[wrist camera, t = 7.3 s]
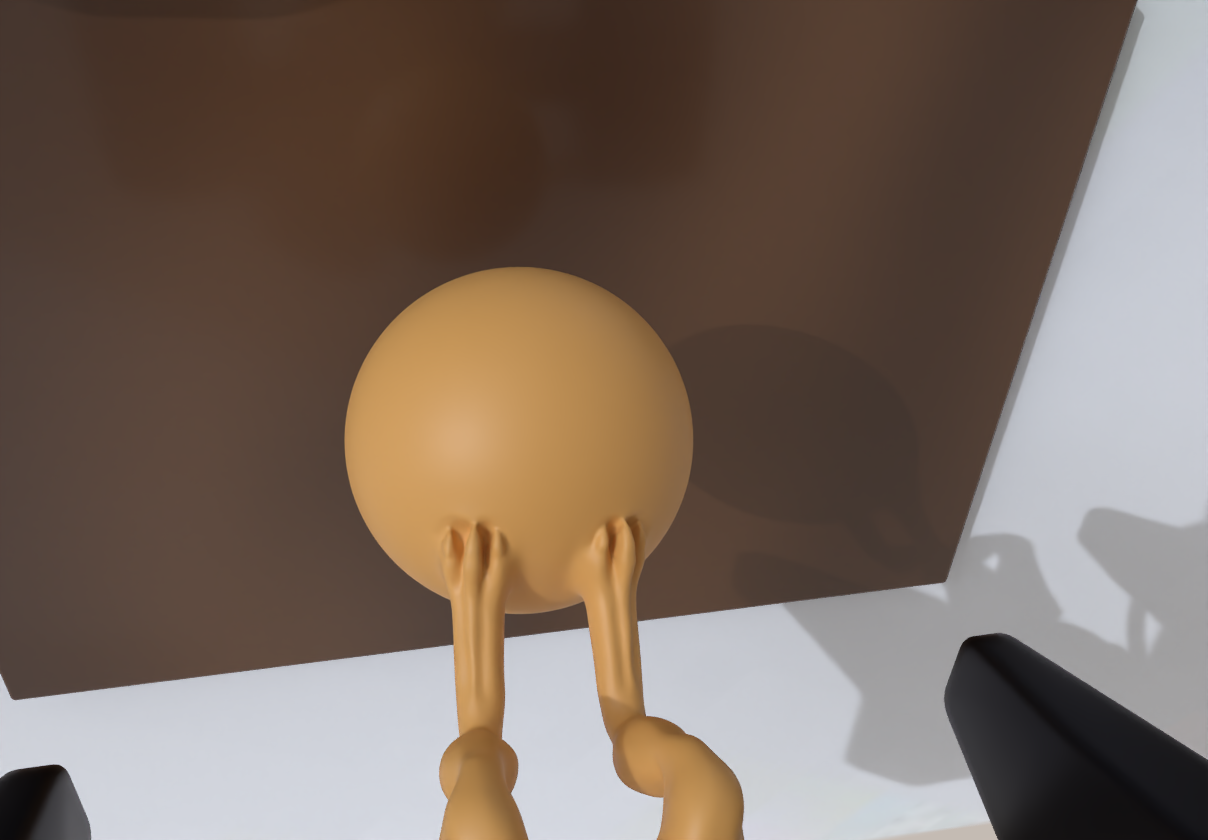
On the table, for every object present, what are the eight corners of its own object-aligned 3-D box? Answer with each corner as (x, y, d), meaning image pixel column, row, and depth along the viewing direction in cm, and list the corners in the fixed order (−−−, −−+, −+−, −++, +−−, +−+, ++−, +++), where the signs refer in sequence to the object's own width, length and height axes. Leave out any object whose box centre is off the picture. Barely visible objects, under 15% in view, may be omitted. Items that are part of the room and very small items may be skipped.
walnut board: (1112, -26, 16) (1146, -20, 15) (929, 561, 22) (946, 583, 22) (-284, -62, 11) (-324, -55, 11) (23, 671, 18) (11, 702, 18)
